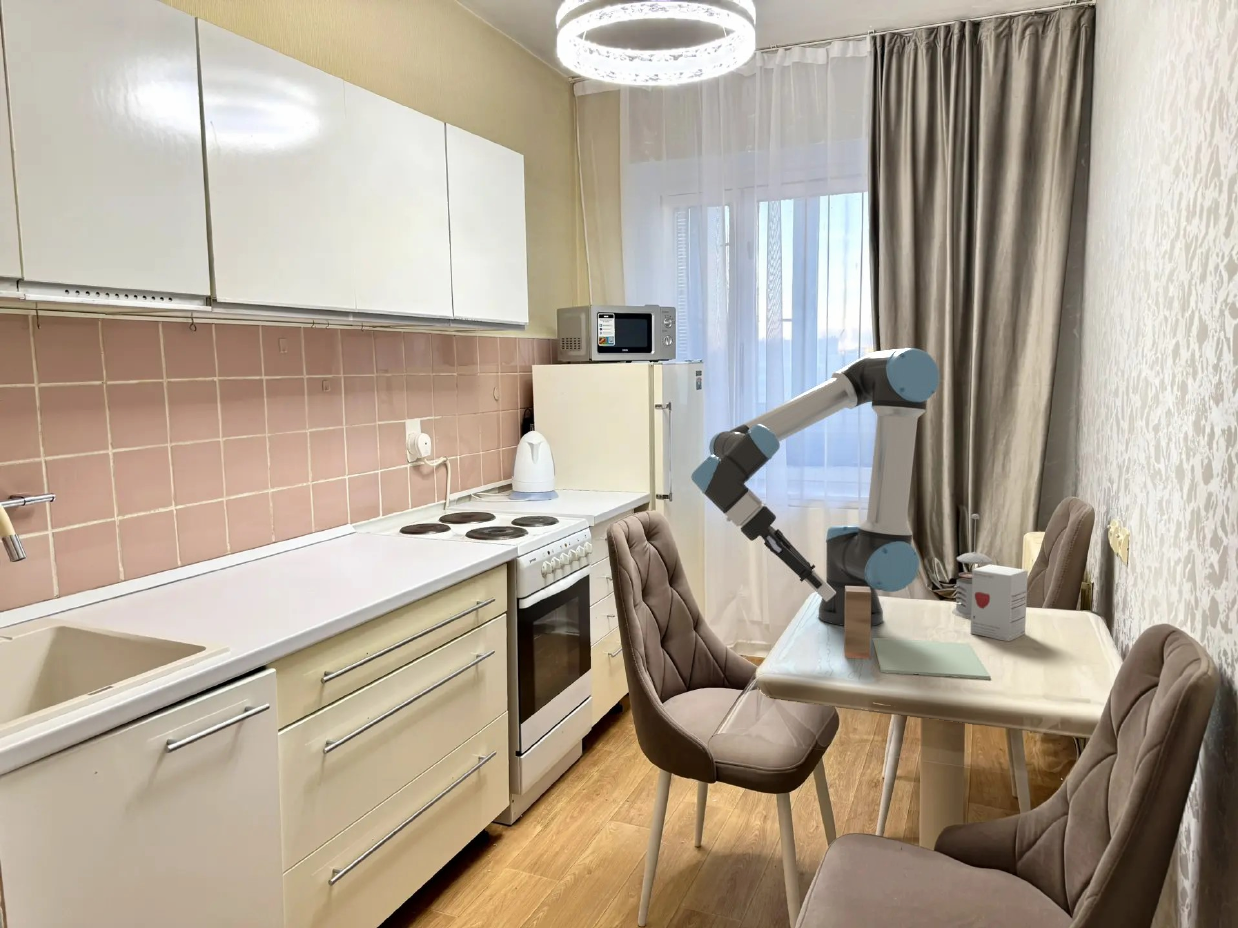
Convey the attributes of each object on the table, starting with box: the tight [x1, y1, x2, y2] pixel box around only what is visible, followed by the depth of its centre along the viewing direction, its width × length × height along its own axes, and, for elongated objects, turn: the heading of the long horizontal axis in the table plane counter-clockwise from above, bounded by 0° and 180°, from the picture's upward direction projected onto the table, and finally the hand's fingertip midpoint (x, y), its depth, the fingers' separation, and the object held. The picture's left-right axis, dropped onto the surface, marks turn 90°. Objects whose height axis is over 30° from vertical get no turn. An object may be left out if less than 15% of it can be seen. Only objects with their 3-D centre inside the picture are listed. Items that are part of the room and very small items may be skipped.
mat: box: [872, 637, 992, 680], centre depth 173 cm, size 22×20×1 cm
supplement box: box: [970, 563, 1029, 642], centre depth 190 cm, size 9×9×15 cm
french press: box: [951, 513, 993, 619], centre depth 206 cm, size 10×12×25 cm
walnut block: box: [843, 586, 872, 660], centre depth 175 cm, size 5×5×14 cm
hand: (831, 596), depth 176 cm, fingers closed
